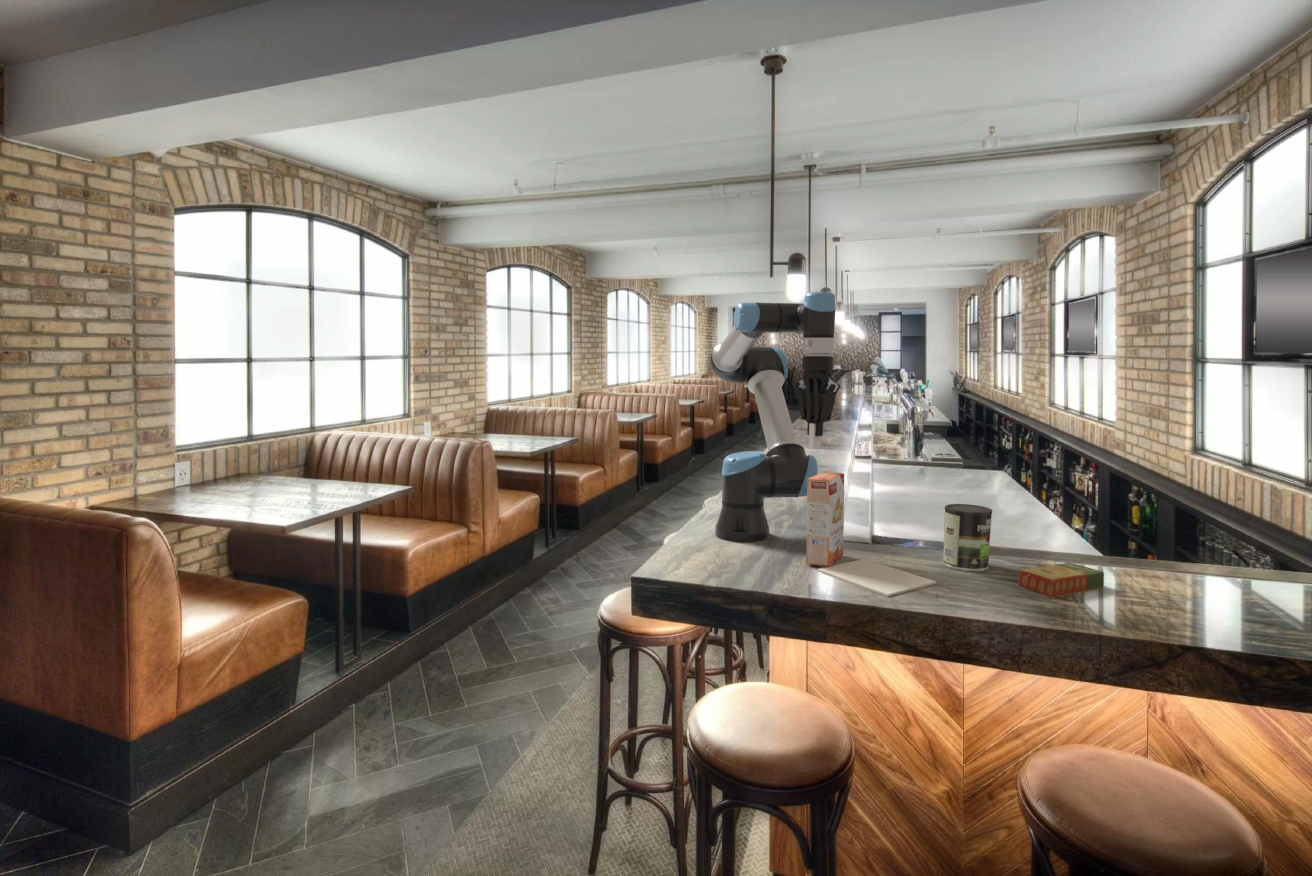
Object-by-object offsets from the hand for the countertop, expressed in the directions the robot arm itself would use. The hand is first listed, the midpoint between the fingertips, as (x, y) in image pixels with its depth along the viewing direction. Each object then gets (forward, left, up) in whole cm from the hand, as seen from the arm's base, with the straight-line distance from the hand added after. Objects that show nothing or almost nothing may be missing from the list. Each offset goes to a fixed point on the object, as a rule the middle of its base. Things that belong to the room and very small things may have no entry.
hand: (814, 448), depth 170 cm
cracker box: (+8, -3, -27) cm, 28 cm away
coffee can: (+28, +23, -27) cm, 45 cm away
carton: (+49, +26, -27) cm, 62 cm away
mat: (+23, -3, -27) cm, 36 cm away
